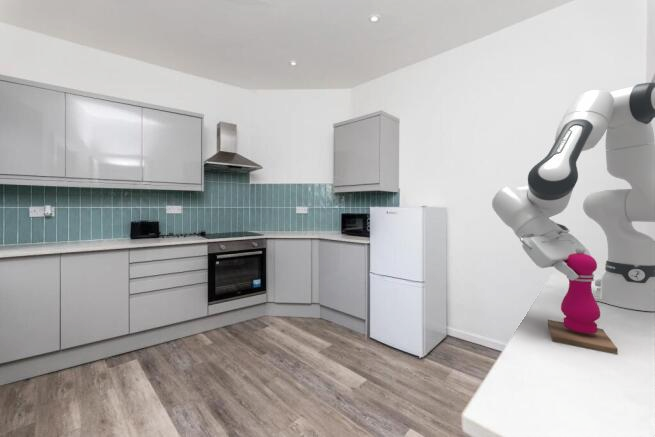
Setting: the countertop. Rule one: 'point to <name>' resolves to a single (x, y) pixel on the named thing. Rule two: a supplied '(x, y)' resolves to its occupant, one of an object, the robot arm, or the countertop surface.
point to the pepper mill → (581, 295)
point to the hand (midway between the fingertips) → (583, 277)
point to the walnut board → (581, 338)
